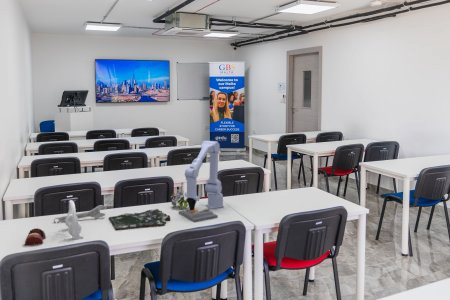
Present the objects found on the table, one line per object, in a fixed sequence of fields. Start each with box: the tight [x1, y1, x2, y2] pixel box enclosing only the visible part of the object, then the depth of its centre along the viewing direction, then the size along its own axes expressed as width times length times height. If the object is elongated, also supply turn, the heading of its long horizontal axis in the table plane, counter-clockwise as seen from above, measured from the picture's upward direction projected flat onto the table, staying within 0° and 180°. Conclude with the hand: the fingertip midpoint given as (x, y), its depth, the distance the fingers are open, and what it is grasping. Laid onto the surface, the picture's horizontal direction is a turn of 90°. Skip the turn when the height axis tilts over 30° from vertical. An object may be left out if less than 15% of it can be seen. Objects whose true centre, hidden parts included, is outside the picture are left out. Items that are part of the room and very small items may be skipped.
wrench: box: [53, 204, 107, 224], centre depth 241 cm, size 8×2×30 cm
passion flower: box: [170, 190, 189, 211], centre depth 267 cm, size 13×12×14 cm
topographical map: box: [108, 208, 171, 231], centre depth 240 cm, size 26×33×3 cm
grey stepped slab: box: [178, 208, 219, 223], centre depth 251 cm, size 16×20×4 cm
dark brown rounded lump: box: [24, 227, 47, 246], centre depth 208 cm, size 8×6×12 cm
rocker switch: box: [188, 204, 208, 215], centre depth 251 cm, size 10×7×2 cm
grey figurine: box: [64, 199, 84, 240], centre depth 218 cm, size 20×7×18 cm, turn 26°
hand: (191, 209), depth 248 cm, fingers closed
